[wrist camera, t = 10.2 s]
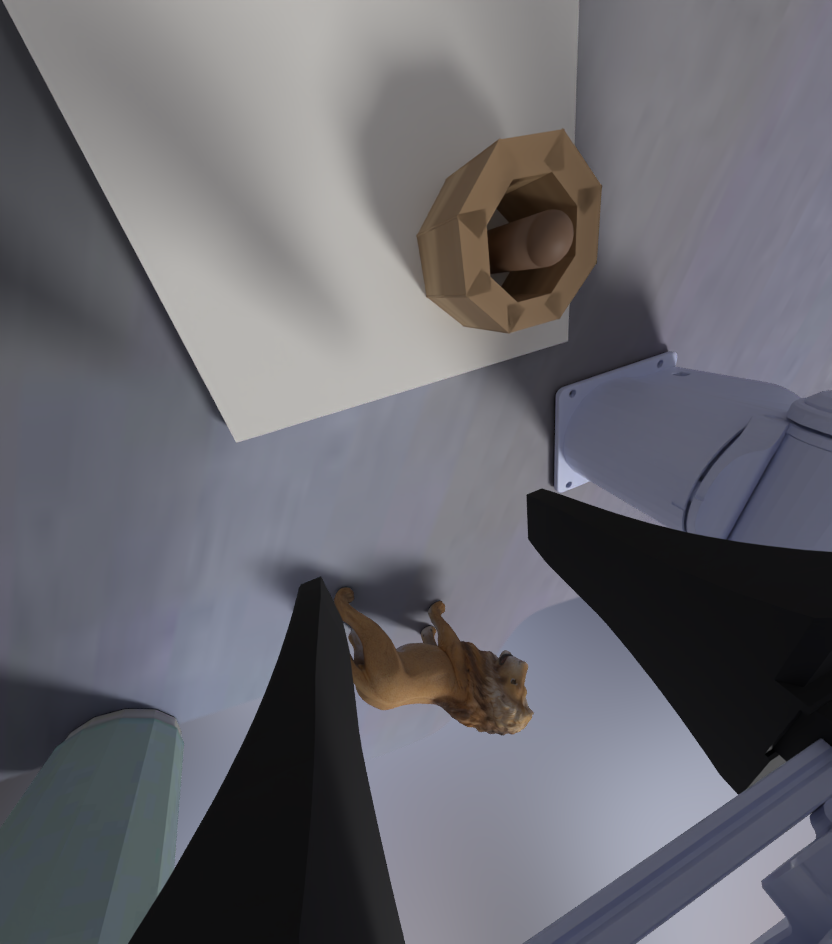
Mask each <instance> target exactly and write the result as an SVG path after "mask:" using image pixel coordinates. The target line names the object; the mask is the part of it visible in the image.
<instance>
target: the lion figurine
mask: <svg viewBox="0 0 832 944" xmlns="http://www.w3.org/2000/svg"><path fill="white" fill-rule="evenodd" d="M353 600H354V593H353V591H352V590H351V588H347V587H345V588H341V589H340V590H339V591H338V592H337V593H336V595H335V598H334V603H335V605H336V607H337V609H338V611H339V614H340V616H341V618H342V620H343V621H344V622H346V623H347V624H348V625H350V626H351V627H352V630H351V632H350V634H349V636H348V638H349V641H350V643H351V644H352V646H353V648H354V660H353V658H352V656H351V654H350V659H351V667H352V675H353V683H354V684H355V685H356V690H357V692H358V694H359V696H360V697H361V698H362V699H363V700H364V701H365V702H366V703H368V704H369V705H371V706H373V707H376V708H378V709H380V710H388V709H392V708H395V707H399V706H402V705H407V704H416V703H422V704H436V705H438V706H440V707H442V708H443V709H444V710H445V711H446V712H448V713H449V714H450V715H451V717H452V718H454V719H456V720H458V722H459V723H461V724H463V725H465V726H467V727H474V728H476V729H477V730H478V731H479V732H487V733H489V734H495V733H497V734H500V735H505V734H507V733H509V734H515V733H517V732H520V731H521V730H522V729H524V728H525V727H526V726H527V724H528V722H529V721H530V720H531V718H532V714H534V713H533V711H532V710H531V709H530V708H529V706H528V704H527V700H526V694H527V690H526V688H525V686H524V682H525V677H526V673H527V670H528V664H527V663H526V662H524V661H522V660H520V659H518V658H516V657H514V656H513V655H511V653H510V652H509V651H506V650H505V651H503V652H502V653H501V655H500V657H499V658H498V657H497V656H496V655H494V654H493V653H492V652H490V651H488V652H487V651H480V650H479V649H478V648H477V647H476V646H475V645H474V644H473V643H470V642H464V641H461V642H460V640H459V638H458V637H457V635H456V634H455V632H454V631H453V629H452V628H451V627H450V625H449V624H448V623H447V622H446V621H445V620H444V619H443V618H442V617H441V614H442V613H444V612H445V605H444V604H443V603H442V601H438V602H436V603H434V604H433V605H431V607H430V609H429V611H428V614H429V617H430V619H431V622H432V623H433V625H434V626H435V627H433V626H428V627H426V628H424V629H423V630H422V632H421V637H422V640H423V643H410V644H405V645H403V646H400V647H399V648H397V649H395V646H394V644H393V643H392V641H391V639H390V638H389V637H388V635H387V634H386V633H385V632H384V631H383V630H382V629H381V627H380V626H379V625H378V624H377V623H375V622H374V621H373V620H371V619H370V618H368V617H366V616H365V615H363V614H362V613H360V612H358V611H357V610H356V609H354V608H353V607H352V606H351V605H349V603H350V602H352V601H353ZM435 628H436V629H435ZM436 630H437V632H438V646H437V644H436V642H435V639H434V635H435V633H436Z"/></svg>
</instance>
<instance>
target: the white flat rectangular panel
mask: <svg viewBox="0 0 832 944" xmlns="http://www.w3.org/2000/svg"><path fill="white" fill-rule="evenodd" d="M2 1H3V3H4V5H5V7H6V9H7V10H8V12H9V14H10V16H11V18H12V20H13V22H14V24H15V26H16V27H17V29H18V31H19V33H20V35H21V37H22V39H23V41H24V43H25V44H26V46H27V48H28V50H29V52H30V54H31V56H32V58H33V60H34V61H35V63H36V65H37V67H38V69H39V71H40V73H41V75H42V77H43V78H44V80H45V82H46V84H47V86H48V88H49V90H50V92H51V94H52V95H53V97H54V99H55V101H56V103H57V105H58V107H59V109H60V111H61V112H62V114H63V116H64V118H65V120H66V122H67V124H68V126H69V128H70V129H71V131H72V133H73V135H74V137H75V139H76V141H77V143H78V145H79V146H80V148H81V150H82V152H83V154H84V156H85V158H86V160H87V162H88V163H89V165H90V167H91V169H92V171H93V173H94V175H95V177H96V179H97V180H98V182H99V184H100V186H101V188H102V190H103V192H104V194H105V196H106V197H107V199H108V201H109V203H110V205H111V207H112V209H113V211H114V213H115V214H116V216H117V218H118V220H119V222H120V224H121V226H122V228H123V230H124V231H125V233H126V235H127V237H128V239H129V241H130V243H131V245H132V247H133V248H134V250H135V252H136V254H137V256H138V258H139V260H140V262H141V264H142V265H143V267H144V269H145V271H146V273H147V275H148V277H149V279H150V281H151V282H152V284H153V286H154V288H155V290H156V292H157V294H158V296H159V298H160V299H161V301H162V303H163V305H164V307H165V309H166V311H167V313H168V315H169V316H170V318H171V320H172V322H173V324H174V326H175V328H176V330H177V332H178V333H179V335H180V337H181V339H182V341H183V343H184V345H185V347H186V349H187V350H188V352H189V354H190V356H191V358H192V360H193V362H194V364H195V366H196V367H197V369H198V371H199V373H200V375H201V377H202V379H203V381H204V383H205V384H206V386H207V388H208V390H209V392H210V394H211V396H212V398H213V400H214V401H215V403H216V405H217V407H218V409H219V411H220V413H221V415H222V417H223V418H224V420H225V422H226V424H227V426H228V428H229V430H230V432H231V433H232V435H233V437H234V439H235V441H236V443H237V442H241V441H244V440H247V439H250V438H254V437H257V436H260V435H263V434H267V433H270V432H273V431H276V430H280V429H283V428H286V427H290V426H293V425H296V424H299V423H303V422H306V421H309V420H312V419H316V418H319V417H322V416H325V415H329V414H332V413H335V412H339V411H342V410H345V409H348V408H352V407H355V406H358V405H361V404H365V403H368V402H371V401H374V400H378V399H381V398H384V397H388V396H391V395H394V394H397V393H401V392H404V391H407V390H410V389H414V388H417V387H420V386H423V385H427V384H430V383H433V382H437V381H440V380H443V379H446V378H450V377H453V376H456V375H459V374H463V373H466V372H469V371H472V370H476V369H479V368H482V367H486V366H489V365H492V364H495V363H499V362H502V361H505V360H508V359H512V358H515V357H518V356H521V355H525V354H528V353H531V352H535V351H538V350H541V349H544V348H548V347H551V346H554V345H557V344H561V343H564V342H567V341H568V330H569V305H568V307H567V308H566V310H565V312H564V313H563V315H562V316H561V318H560V319H557V320H553V321H550V322H546V323H543V324H539V325H536V326H533V327H529V328H526V329H522V330H519V331H515V332H512V333H510V334H508V333H502V332H495V331H489V330H482V329H476V328H469V327H463V325H461V324H460V323H459V322H457V321H456V320H455V319H454V318H452V317H451V316H450V315H449V314H447V313H446V312H445V311H444V310H442V309H441V308H440V307H439V306H437V305H436V304H435V303H434V302H432V301H431V300H430V299H429V298H427V297H426V291H425V284H424V278H423V272H422V266H421V260H420V254H419V248H418V241H417V237H416V236H417V234H418V232H419V230H420V228H421V226H422V225H423V223H424V221H425V219H426V217H427V215H428V213H429V211H430V209H431V207H432V205H433V204H434V202H435V200H436V198H437V196H438V194H439V192H440V190H441V188H442V186H443V184H444V183H445V179H446V178H448V177H449V176H450V175H452V174H453V173H454V172H456V171H457V170H458V169H460V168H461V167H462V166H464V165H465V164H466V163H468V162H469V161H470V160H472V159H473V158H474V157H476V156H477V155H478V154H480V153H481V152H482V151H484V150H485V149H486V148H488V147H489V146H490V145H492V144H493V143H494V142H495V141H497V140H498V139H499V138H500V139H505V138H511V137H517V136H524V135H530V134H536V133H542V132H548V131H554V130H560V129H562V128H563V129H565V132H566V133H567V135H568V136H569V138H570V139H571V141H572V142H573V144H574V145H575V116H576V86H577V55H578V24H579V0H2ZM508 223H509V222H508V221H507V220H506V219H505V218H504V217H503V216H502V214H501V213H500V212H499V211H498V210H497V209H496V210H495V212H494V214H493V215H492V217H491V219H490V221H489V222H488V224H487V230H490V229H493V228H496V227H499V226H502V225H505V224H508ZM509 273H510V272H503V273H495V274H490V277H491V278H492V279H493V280H494V281H495V282H496V283H498V284H499V285H500V286H502V284H503V283H504V281H505V279H506V278H507V276H508V274H509Z"/></svg>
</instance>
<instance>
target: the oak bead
mask: <svg viewBox="0 0 832 944" xmlns="http://www.w3.org/2000/svg"><path fill="white" fill-rule="evenodd" d="M601 190H602V185H601V184H600V183H599V181H598V180H597V178H596V177H595V175H594V174H593V172H592V171H591V169H590V168H589V166H588V165H587V163H586V162H585V160H584V159H583V157H582V156H581V154H580V153H579V151H578V150H577V148H576V147H575V145H574V144H573V142H572V141H571V139H570V138H569V136H568V135H567V133H566V132H565V129H563V128H562V129H560V130H554V131H548V132H542V133H536V134H530V135H524V136H517V137H511V138H505V139H500V138H499V139H498V140H497V141H495V142H494V143H493V144H492V145H490V146H489V147H488V148H486V149H485V150H484V151H482V152H481V153H480V154H478V155H477V156H476V157H474V158H473V159H472V160H470V161H469V162H468V163H466V164H465V165H464V166H462V167H461V168H460V169H458V170H457V171H456V172H454V173H453V174H452V175H450V176H449V177H448V178H446V179H445V183H444V184H443V186H442V188H441V190H440V192H439V194H438V196H437V198H436V200H435V202H434V204H433V205H432V207H431V209H430V211H429V213H428V215H427V217H426V219H425V221H424V223H423V225H422V226H421V228H420V230H419V232H418V234H417V236H416V237H417V241H418V248H419V254H420V260H421V266H422V272H423V278H424V284H425V291H426V297H427V298H429V299H430V300H431V301H432V302H434V303H435V304H436V305H437V306H439V307H440V308H441V309H442V310H444V311H445V312H446V313H447V314H449V315H450V316H451V317H452V318H454V319H455V320H456V321H457V322H459V323H460V324H461V325H463V327H469V328H476V329H482V330H489V331H495V332H502V333H508V334H510V333H512V332H515V331H519V330H522V329H526V328H529V327H533V326H536V325H539V324H543V323H546V322H550V321H553V320H557V319H560V318H561V316H562V315H563V313H564V312H565V310H566V308H567V307H568V305H569V304H570V302H571V301H572V299H573V298H574V296H575V295H576V293H577V292H578V290H579V289H580V287H581V286H582V284H583V283H584V281H585V280H586V278H587V277H588V275H589V274H590V272H591V270H592V269H593V267H594V266H595V264H597V250H598V235H599V220H600V205H601ZM496 209H497V210H498V211H499V212H500V213H501V214H502V216H503V217H504V218H505V219H506V220H507V221H508V222H509V223H511V222H514V221H516V220H519V219H522V218H525V217H528V216H531V215H534V214H537V213H540V212H543V211H546V210H550V209H556V210H560V211H562V212H564V213H565V214H567V215H568V217H569V218H570V220H571V222H572V224H573V232H574V234H573V241H572V244H571V246H570V249H569V250H568V252H567V254H566V255H565V256H564V257H563V258H562V259H561V260H560V261H559V262H557V263H556V264H554V265H552V266H549V267H544V268H536V269H527V270H519V271H511V272H510V273H509V274H508V276H507V278H506V279H505V281H504V283H503V284H502V286H500V285H499V284H498V283H496V282H495V281H494V280H493V279H492V278H491V277H490V265H489V251H488V237H487V224H488V222H489V221H490V219H491V217H492V215H493V214H494V212H495V210H496Z"/></svg>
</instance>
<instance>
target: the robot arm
mask: <svg viewBox="0 0 832 944" xmlns="http://www.w3.org/2000/svg"><path fill="white" fill-rule="evenodd" d="M676 361H677V353H676V352H671V351H669V352H665V353H662V354H660V355H657V356H654V357H651V358H648V359H645V360H642V361H639V362H636V363H633V364H630V365H627V366H624V367H621V368H618V369H615V370H612V371H609V372H606V373H603V374H600V375H597V376H594V377H591V378H588V379H585V380H582V381H579V382H576V383H573V384H570V385H567V386H564V387H562V388H560V389H559V390H558V391H557V393H556V407H555V470H554V488H555V490H556V491H557V492H560V493H561V492H564V491H567V490H569V489H572V488H574V487H577V486H579V485H582V484H584V483H587V482H589V481H591V482H593V483H594V484H596V485H598V486H599V487H601V488H603V489H604V490H606V491H608V492H609V493H611V494H613V495H614V496H616V497H618V498H619V499H621V500H623V501H624V502H626V503H628V504H629V505H631V506H633V507H634V508H636V509H638V510H639V511H641V512H643V513H645V514H646V515H648V516H650V517H651V518H653V519H655V520H656V521H658V522H660V523H661V524H663V525H665V526H666V527H668V528H666V527H662V526H658V525H654V524H651V523H647V522H643V521H640V520H636V519H633V518H629V517H626V516H623V515H620V514H616V513H613V512H610V511H607V510H604V509H601V508H598V507H595V506H592V505H589V504H586V503H583V502H581V501H578V500H575V499H572V498H569V497H566V496H563V495H560V494H557V493H555V492H551V491H548V490H545V489H540V490H537V491H535V492H532V493H530V494H527V519H528V539H529V541H530V542H531V543H532V545H533V546H534V547H535V549H536V550H537V551H538V553H539V554H540V555H541V556H542V558H543V559H544V560H545V562H546V563H547V564H548V565H549V566H550V567H551V568H552V569H553V570H554V571H555V572H556V573H557V574H558V575H559V576H560V577H561V578H562V579H563V580H564V581H565V582H566V583H567V584H568V585H569V586H570V587H571V588H572V589H573V590H574V591H575V592H576V593H577V594H578V595H579V596H580V597H581V598H582V599H583V600H584V601H585V602H586V603H587V604H588V605H589V606H590V607H591V608H592V609H593V610H594V611H595V612H596V613H597V614H598V615H599V616H600V617H601V618H602V619H603V620H604V622H605V623H606V624H607V625H608V626H609V627H610V628H611V630H612V631H613V632H614V633H615V635H616V636H617V637H618V638H619V639H620V640H621V642H622V643H623V644H624V645H625V647H626V648H627V649H628V650H629V651H630V653H631V654H632V655H633V656H634V658H635V659H636V660H637V661H638V663H639V664H640V665H641V666H642V668H643V669H644V670H645V672H646V673H647V674H648V675H649V677H650V678H651V679H652V680H653V682H654V683H655V684H656V686H657V687H658V688H659V690H660V691H661V692H662V694H663V695H664V696H665V698H666V699H667V700H668V702H669V703H670V704H671V706H672V707H673V708H674V710H675V711H676V712H677V714H678V715H679V716H680V718H681V719H682V721H683V722H684V723H685V725H686V726H687V728H688V729H689V730H690V732H691V733H692V735H693V736H694V738H695V739H696V741H697V742H698V743H699V745H700V746H701V748H702V749H703V750H704V752H705V753H706V755H707V756H708V758H709V759H710V760H711V762H712V764H713V765H714V767H715V768H716V770H717V771H718V773H719V774H720V775H721V776H722V777H723V779H724V780H725V781H726V782H727V783H728V784H729V785H730V786H731V787H732V788H733V790H734V791H735V792H736V793H737V794H738V796H736V797H735V798H733V799H732V800H730V801H729V802H728V803H726V804H725V805H723V806H722V807H720V808H719V809H717V810H716V811H714V812H713V813H712V814H710V815H709V816H707V817H706V818H705V819H703V820H702V821H700V822H699V823H698V824H696V825H694V826H693V827H691V828H690V829H688V830H687V831H685V832H684V833H683V834H681V835H680V836H678V837H677V838H675V839H674V840H672V841H671V842H670V843H668V844H667V845H665V846H664V847H662V848H661V849H659V850H658V851H657V852H655V853H654V854H652V855H651V856H649V857H648V858H646V859H645V860H643V861H642V862H641V863H639V864H638V865H636V866H635V867H633V868H632V869H630V870H629V871H628V872H626V873H625V874H623V875H622V876H620V877H619V878H617V879H616V880H614V881H613V882H612V883H610V884H609V885H607V886H606V887H604V888H603V889H601V890H600V891H598V892H597V893H596V894H594V895H593V896H591V897H590V898H589V899H587V900H585V901H584V902H583V903H581V904H580V905H578V906H577V907H575V908H574V909H572V910H571V911H570V912H568V913H567V914H565V915H564V916H562V917H561V918H559V919H558V920H557V921H555V922H554V923H552V924H551V925H549V926H548V927H546V928H545V929H543V930H542V931H540V932H539V933H538V934H536V935H535V936H533V937H532V938H530V939H529V940H527V941H526V942H525V943H523V944H636V943H637V942H639V941H640V940H641V939H643V938H644V937H645V936H647V935H648V934H649V933H651V932H652V931H654V930H655V929H656V928H658V927H659V926H660V925H662V924H663V923H664V922H666V921H667V920H668V919H670V918H671V917H672V916H673V915H675V914H676V913H678V912H679V911H680V910H682V909H683V908H684V907H686V906H687V905H688V904H690V903H691V902H692V901H694V900H695V899H696V898H698V897H699V896H701V895H702V894H703V893H705V892H706V891H707V890H709V889H710V888H711V887H713V886H714V885H715V884H717V883H718V882H719V881H721V880H722V879H723V878H725V877H726V876H727V875H729V874H730V873H731V872H733V871H734V870H735V869H737V868H738V867H740V866H741V865H742V864H743V863H745V862H746V861H747V860H749V859H750V858H752V857H753V856H754V855H756V854H757V853H758V852H760V851H761V850H762V849H764V848H765V847H766V846H768V845H769V844H770V843H772V842H773V841H774V840H776V839H777V838H778V837H780V836H781V835H782V834H784V833H785V832H787V831H788V830H789V829H791V828H792V827H793V826H795V825H796V824H797V823H798V822H800V821H801V820H803V819H804V818H805V817H807V816H808V815H809V814H811V815H810V821H811V824H812V826H813V828H814V830H815V833H816V839H815V840H814V841H813V842H812V843H810V844H809V845H808V846H806V847H805V848H803V849H802V850H801V851H799V852H798V853H797V854H795V855H794V856H793V857H791V858H790V859H788V860H787V861H786V862H785V863H783V864H782V865H781V866H779V867H778V868H777V869H776V870H775V871H773V872H772V873H771V874H769V875H768V876H767V877H766V878H765V879H763V880H762V881H761V882H762V887H763V889H764V890H765V891H766V893H767V894H768V895H769V896H770V898H771V899H772V900H773V901H774V903H775V904H776V905H777V906H778V907H779V909H780V910H781V911H782V912H783V914H784V915H785V916H786V917H785V918H784V919H782V920H781V921H780V922H778V923H777V924H776V925H775V926H773V927H772V928H770V929H769V930H768V931H767V932H765V933H764V934H763V935H761V936H760V937H759V938H757V939H756V940H755V941H753V942H752V943H751V944H832V390H828V391H822V392H820V393H817V394H814V395H812V396H809V397H807V398H800V397H799V396H798V395H796V394H795V393H794V392H792V391H790V390H788V389H786V388H784V387H782V386H779V385H776V384H772V383H768V382H762V381H756V380H750V379H745V378H739V377H733V376H727V375H721V374H716V373H710V372H704V371H698V370H692V369H686V368H681V367H675V366H676ZM571 391H572V392H571ZM570 392H571V394H570ZM569 394H570V395H569ZM128 944H405V941H404V936H403V932H402V928H401V924H400V920H399V916H398V911H397V907H396V903H395V899H394V895H393V890H392V886H391V882H390V877H389V873H388V869H387V864H386V860H385V855H384V851H383V846H382V842H381V837H380V833H379V828H378V824H377V819H376V814H375V810H374V805H373V800H372V796H371V792H370V786H369V782H368V777H367V772H366V767H365V762H364V757H363V752H362V747H361V740H360V734H359V727H358V718H357V710H356V701H355V692H354V684H353V675H352V667H351V659H350V651H349V646H348V642H347V637H346V633H345V629H344V625H343V621H342V618H341V616H340V614H339V611H338V609H337V607H336V605H335V603H334V601H333V599H332V597H331V595H330V593H329V591H328V589H327V587H326V585H325V583H324V581H323V579H322V577H318V578H316V579H313V580H311V581H308V582H306V583H303V584H301V586H300V587H299V590H298V594H297V598H296V602H295V606H294V610H293V613H292V617H291V620H290V624H289V627H288V630H287V633H286V636H285V639H284V642H283V645H282V649H281V652H280V655H279V657H278V660H277V663H276V666H275V668H274V671H273V673H272V676H271V679H270V681H269V684H268V687H267V689H266V692H265V694H264V697H263V699H262V701H261V704H260V706H259V709H258V711H257V713H256V715H255V718H254V720H253V722H252V724H251V726H250V729H249V731H248V733H247V735H246V738H245V739H244V742H243V744H242V746H241V748H240V750H239V752H238V754H237V756H236V758H235V760H234V762H233V764H232V766H231V768H230V770H229V772H228V774H227V776H226V778H225V780H224V782H223V783H222V785H221V787H220V789H219V791H218V793H217V795H216V797H215V799H214V800H213V802H212V804H211V806H210V807H209V809H208V811H207V813H206V815H205V816H204V818H203V820H202V821H201V823H200V825H199V827H198V828H197V830H196V832H195V834H194V835H193V837H192V839H191V841H190V842H189V844H188V846H187V848H186V850H185V851H184V853H183V855H182V857H181V858H180V860H179V862H178V864H177V865H176V867H175V869H174V870H173V872H172V874H171V875H170V877H169V879H168V880H167V882H166V884H165V885H164V887H163V888H162V890H161V892H160V893H159V895H158V896H157V898H156V900H155V901H154V903H153V904H152V906H151V907H150V909H149V911H148V912H147V914H146V915H145V917H144V919H143V920H142V922H141V923H140V925H139V927H138V928H137V930H136V931H135V933H134V934H133V936H132V938H131V939H130V941H129V942H128Z"/></svg>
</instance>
